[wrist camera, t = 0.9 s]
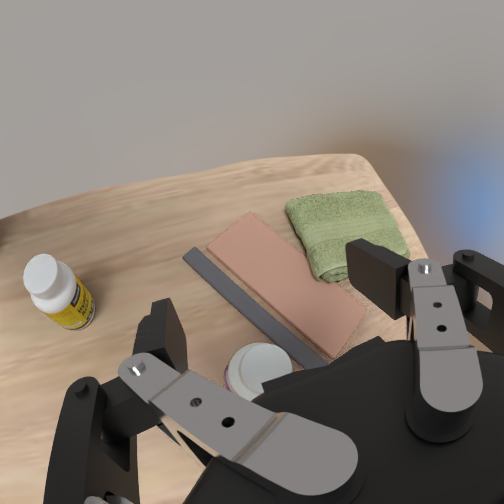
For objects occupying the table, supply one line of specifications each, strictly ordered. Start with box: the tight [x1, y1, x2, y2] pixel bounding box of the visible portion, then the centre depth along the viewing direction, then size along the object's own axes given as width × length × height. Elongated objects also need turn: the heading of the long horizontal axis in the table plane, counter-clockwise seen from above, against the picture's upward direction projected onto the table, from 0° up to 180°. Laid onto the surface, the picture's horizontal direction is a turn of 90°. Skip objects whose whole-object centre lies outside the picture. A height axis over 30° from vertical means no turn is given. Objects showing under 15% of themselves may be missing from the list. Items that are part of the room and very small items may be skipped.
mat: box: [183, 212, 367, 370], centre depth 34 cm, size 22×11×1 cm, turn 49°
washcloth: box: [285, 190, 410, 283], centre depth 39 cm, size 13×18×3 cm
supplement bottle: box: [23, 254, 95, 331], centre depth 25 cm, size 5×5×10 cm
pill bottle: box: [224, 342, 292, 401], centre depth 25 cm, size 5×5×10 cm
